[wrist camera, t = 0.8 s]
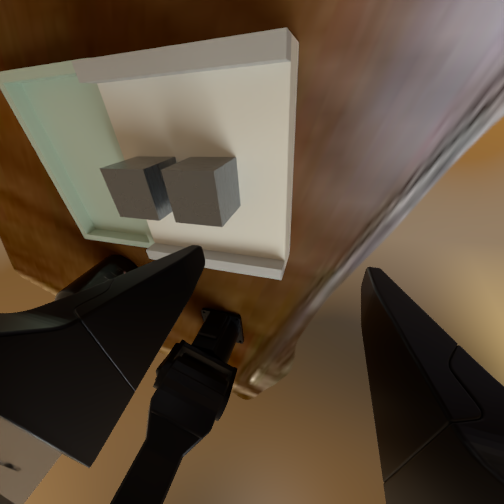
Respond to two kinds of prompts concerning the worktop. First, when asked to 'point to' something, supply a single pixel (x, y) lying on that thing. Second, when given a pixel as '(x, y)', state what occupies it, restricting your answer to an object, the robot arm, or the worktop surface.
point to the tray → (73, 146)
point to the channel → (213, 134)
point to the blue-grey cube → (203, 190)
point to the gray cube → (139, 187)
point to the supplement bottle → (98, 275)
